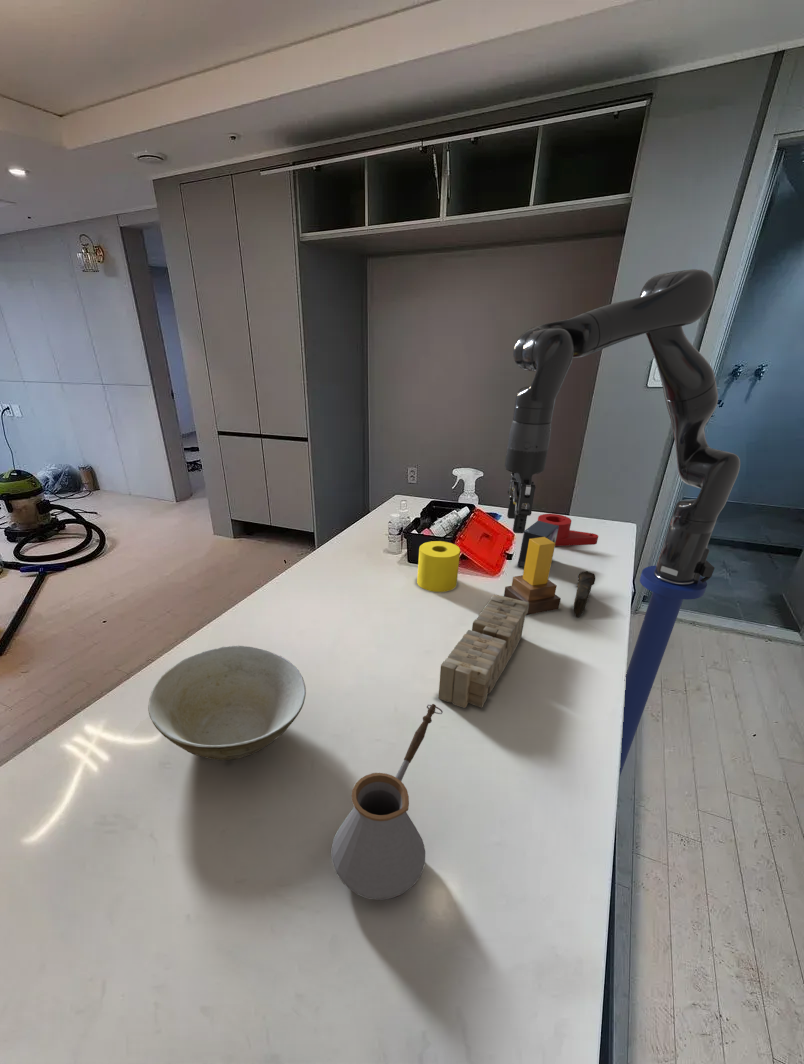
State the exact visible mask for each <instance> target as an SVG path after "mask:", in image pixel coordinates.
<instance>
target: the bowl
mask: <svg viewBox="0 0 804 1064" xmlns="http://www.w3.org/2000/svg"><path fill="white" fill-rule="evenodd" d="M306 689H307V688H306V684H305V680H304V677H303V675H302V674H301V672H300V670H299V668H298V667H296V665H294V664H293V662H291V661H290V660H288V659H287V658H285V657H283V656H282V655H279V654H277V653H274V652H272V651H270V650H267V649H263V648H258V647H254V646H247V645H230V646H222V647H218V648H212V649H207V650H205V651H202V652H200V653H197V654H194V655H191V656H188V657H186V658H184V659H182V660H180V661H179V662H178V663H176V664H175V665H173V666H171V668H169V669H167V671H165V672H164V673H163V674H162V675H161V676H160V678H159V679H158V680H157V682H156V683H155V685H154V686H153V688H152V690H151V691H150V692H151V693H150V695H149V699H148V705H147V711H148V715H149V719H150V720H151V723H152V724H153V726H154V727H155V729H156V730H157V731H158V732H159V733H160V734H161V735H162V736H163V737H164V738H165V739H167V740H168V741H170V742H171V743H173V744H174V745H176V746H178V747H179V748H181V749H183V750H184V751H186V752H187V753H189V754H192V755H195V756H197V757H201V758H206V759H210V760H217V761H231V760H237V759H242V758H245V757H248V756H250V755H253V754H256V753H258V752H259V751H262V749H264V748H265V747H268V746H269V745H271V744H272V743H273V742H274V741H275V740H276V739H278V738H279V737H280V736H281V735H283V734H284V733H285V731H287V729H288V728H289V727H290V726H291V725H292V724H293V722H294V721H295V720H296V718H298V716H299V714H300V713H301V711H302V709H303V707H304V704H305V699H306V694H307V690H306Z"/></svg>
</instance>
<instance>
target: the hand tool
mask: <svg viewBox="0 0 804 1064" xmlns="http://www.w3.org/2000/svg"><path fill="white" fill-rule="evenodd" d="M595 582H596V574H595V573H593V572H591V571H588V570H585V571H580V572H579V573H578V575H577V583H576V587H577V588H576V594H575V598H574V603H573V613H574V616H575V618H576V619H578V618H580V617H582V614H584V612H585V610H586V607H587V604H588V601H589V597H590V594H591V590H592V587H593V586H594V585H595Z"/></svg>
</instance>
